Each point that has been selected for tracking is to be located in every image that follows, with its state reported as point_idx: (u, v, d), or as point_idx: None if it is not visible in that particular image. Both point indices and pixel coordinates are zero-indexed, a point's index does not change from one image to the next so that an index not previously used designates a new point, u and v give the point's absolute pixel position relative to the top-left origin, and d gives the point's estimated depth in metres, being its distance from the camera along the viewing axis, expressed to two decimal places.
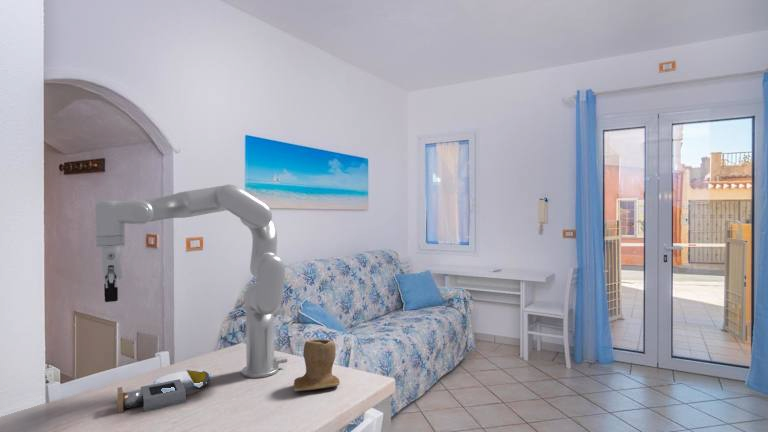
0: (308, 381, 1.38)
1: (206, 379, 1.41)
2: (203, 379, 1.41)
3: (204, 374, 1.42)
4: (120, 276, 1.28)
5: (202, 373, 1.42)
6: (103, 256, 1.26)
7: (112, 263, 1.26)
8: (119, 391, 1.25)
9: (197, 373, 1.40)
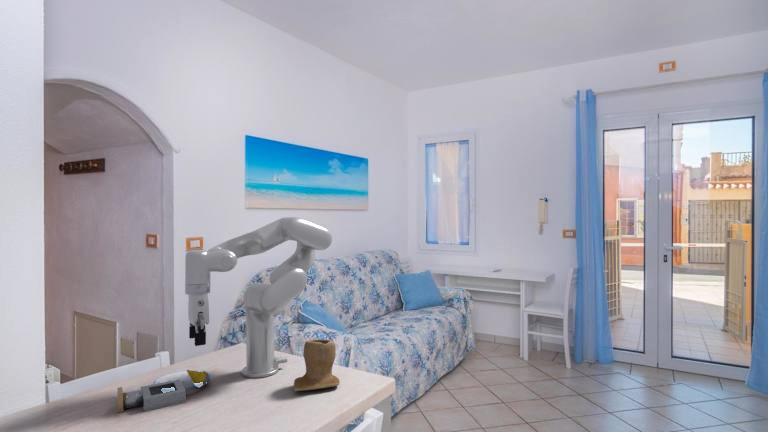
0: (308, 381, 1.38)
1: (206, 379, 1.41)
2: (203, 379, 1.41)
3: (204, 374, 1.42)
4: (208, 321, 1.38)
5: (202, 373, 1.42)
6: (194, 303, 1.36)
7: (202, 309, 1.37)
8: (119, 391, 1.25)
9: (197, 373, 1.40)
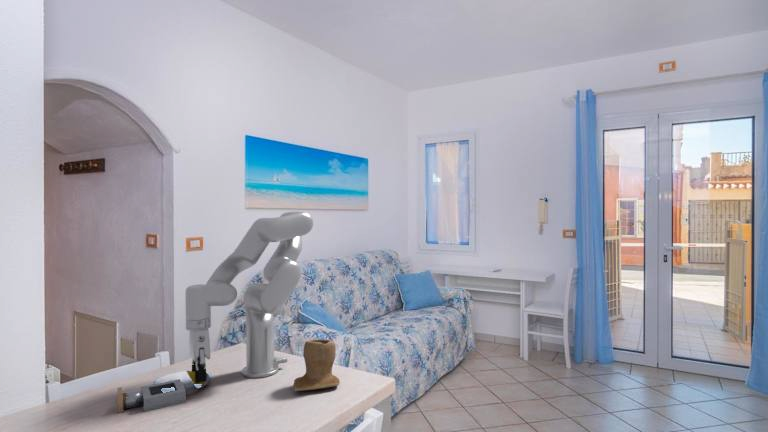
0: (308, 381, 1.38)
1: (206, 380, 1.40)
2: None
3: None
4: (209, 356, 1.39)
5: None
6: (195, 339, 1.37)
7: (202, 345, 1.37)
8: (119, 391, 1.25)
9: None
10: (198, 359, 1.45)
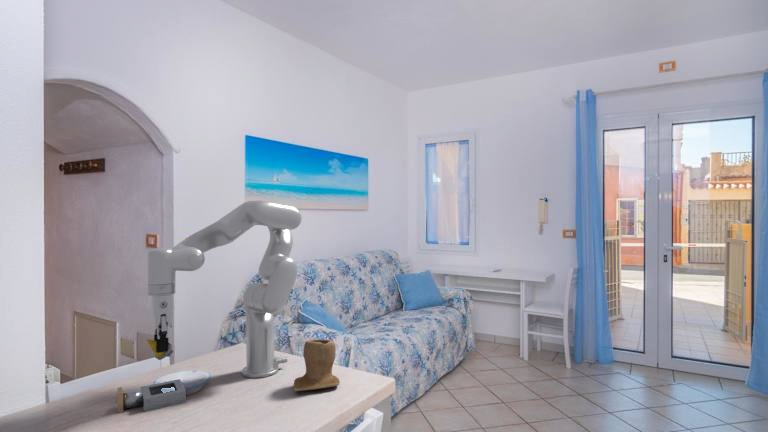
0: (308, 381, 1.38)
1: (168, 350, 1.31)
2: None
3: None
4: (172, 324, 1.29)
5: None
6: (156, 305, 1.27)
7: (164, 312, 1.28)
8: (119, 391, 1.25)
9: None
10: None
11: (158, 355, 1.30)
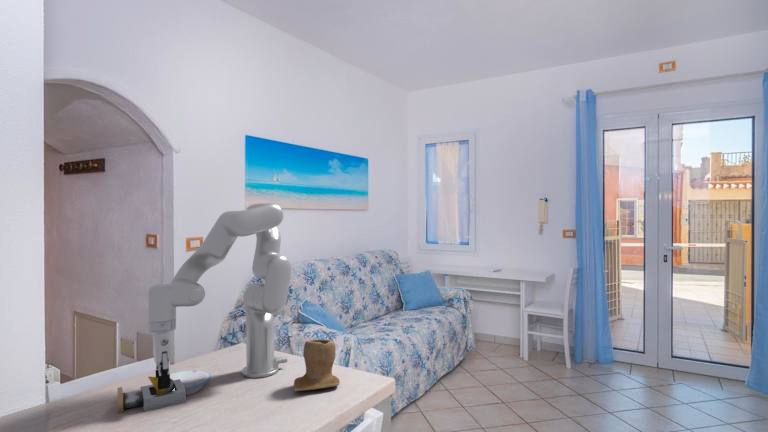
0: (308, 381, 1.38)
1: (170, 386, 1.31)
2: None
3: None
4: (173, 361, 1.29)
5: None
6: (157, 342, 1.27)
7: (166, 349, 1.28)
8: (119, 391, 1.25)
9: None
10: (163, 364, 1.35)
11: (160, 392, 1.30)
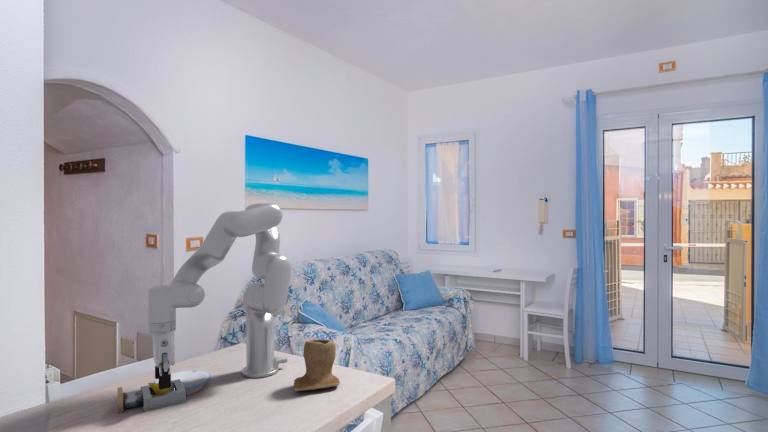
0: (308, 381, 1.38)
1: None
2: None
3: None
4: (173, 362, 1.29)
5: None
6: (157, 344, 1.27)
7: (166, 350, 1.28)
8: (119, 391, 1.25)
9: None
10: None
11: None
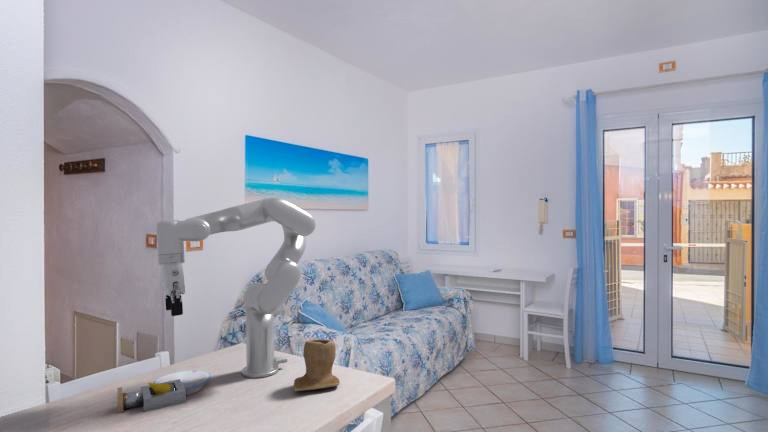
0: (308, 381, 1.38)
1: None
2: None
3: (169, 386, 1.32)
4: (184, 291, 1.36)
5: (166, 385, 1.32)
6: (168, 273, 1.34)
7: (176, 279, 1.34)
8: (119, 391, 1.25)
9: (160, 385, 1.30)
10: None
11: None
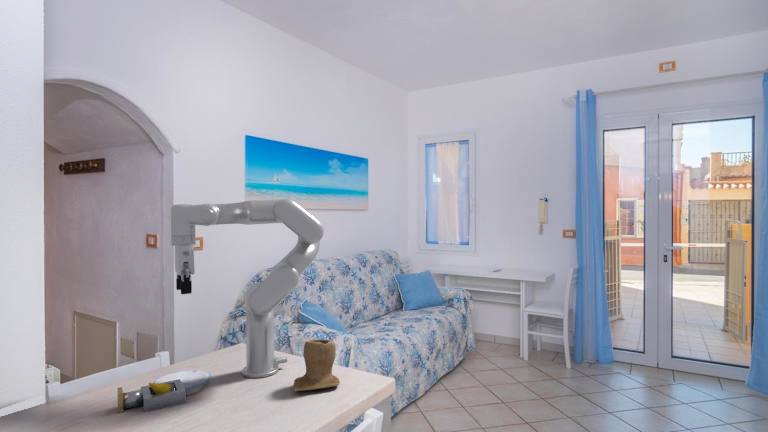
0: (308, 381, 1.38)
1: None
2: None
3: (169, 386, 1.32)
4: (193, 271, 1.44)
5: (166, 385, 1.32)
6: (179, 253, 1.42)
7: (187, 260, 1.43)
8: (119, 391, 1.25)
9: (160, 385, 1.30)
10: None
11: None
